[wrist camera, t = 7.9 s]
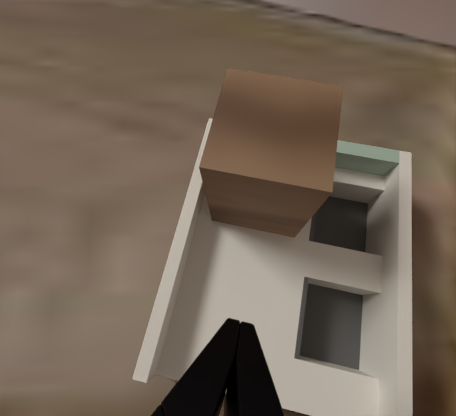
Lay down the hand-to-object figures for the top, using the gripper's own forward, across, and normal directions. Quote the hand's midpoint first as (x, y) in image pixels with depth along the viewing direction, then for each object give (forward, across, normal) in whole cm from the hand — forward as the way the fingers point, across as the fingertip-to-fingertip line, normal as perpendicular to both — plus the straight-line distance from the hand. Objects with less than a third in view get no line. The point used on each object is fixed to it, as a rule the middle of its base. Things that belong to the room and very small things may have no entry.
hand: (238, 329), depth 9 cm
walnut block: (+13, 0, 0) cm, 13 cm away
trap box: (+12, -2, +6) cm, 14 cm away
